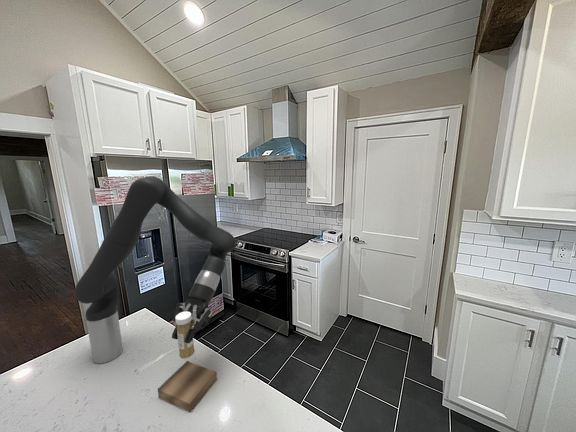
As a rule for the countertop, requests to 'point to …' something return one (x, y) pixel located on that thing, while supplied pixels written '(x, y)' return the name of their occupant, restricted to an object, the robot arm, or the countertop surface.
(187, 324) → the sprinkles bottle
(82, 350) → the countertop surface
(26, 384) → the countertop surface
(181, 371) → the walnut dock
